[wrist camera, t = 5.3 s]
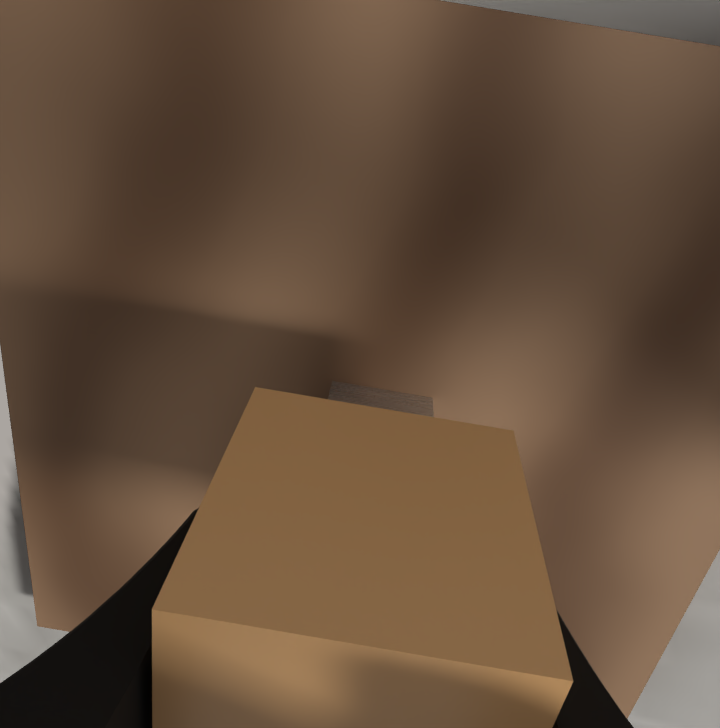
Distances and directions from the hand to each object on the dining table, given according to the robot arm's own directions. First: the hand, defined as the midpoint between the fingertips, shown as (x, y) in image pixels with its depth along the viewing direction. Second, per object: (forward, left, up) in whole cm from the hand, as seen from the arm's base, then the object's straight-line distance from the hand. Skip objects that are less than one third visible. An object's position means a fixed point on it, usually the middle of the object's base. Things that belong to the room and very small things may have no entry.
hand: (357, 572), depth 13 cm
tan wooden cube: (0, 0, -2) cm, 2 cm away
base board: (0, 0, -6) cm, 6 cm away
